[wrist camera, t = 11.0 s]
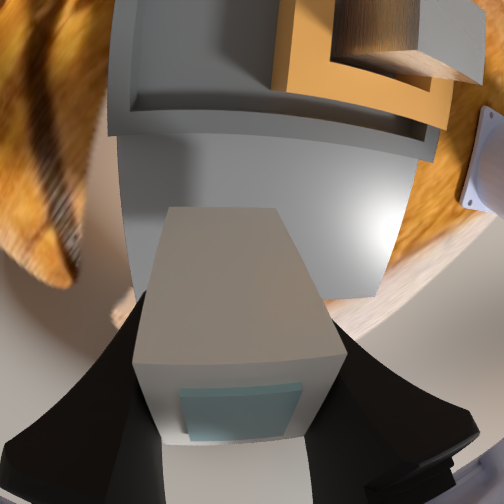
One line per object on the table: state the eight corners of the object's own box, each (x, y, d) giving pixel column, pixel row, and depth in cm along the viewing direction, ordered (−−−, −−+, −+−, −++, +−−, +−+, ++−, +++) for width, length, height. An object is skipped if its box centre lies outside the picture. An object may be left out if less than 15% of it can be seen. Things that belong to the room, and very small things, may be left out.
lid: (409, 144, 15) (420, 149, 14) (368, 286, 21) (374, 296, 20) (123, 120, 13) (116, 123, 12) (139, 290, 18) (136, 302, 17)
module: (275, 208, 11) (351, 361, 5) (264, 291, 13) (305, 441, 7) (169, 206, 11) (130, 372, 4) (174, 292, 13) (164, 450, 6)
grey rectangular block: (384, 23, 10) (485, 11, 4) (379, 73, 12) (482, 85, 6) (331, 5, 10) (419, -32, 4) (325, 58, 11) (417, 50, 5)
